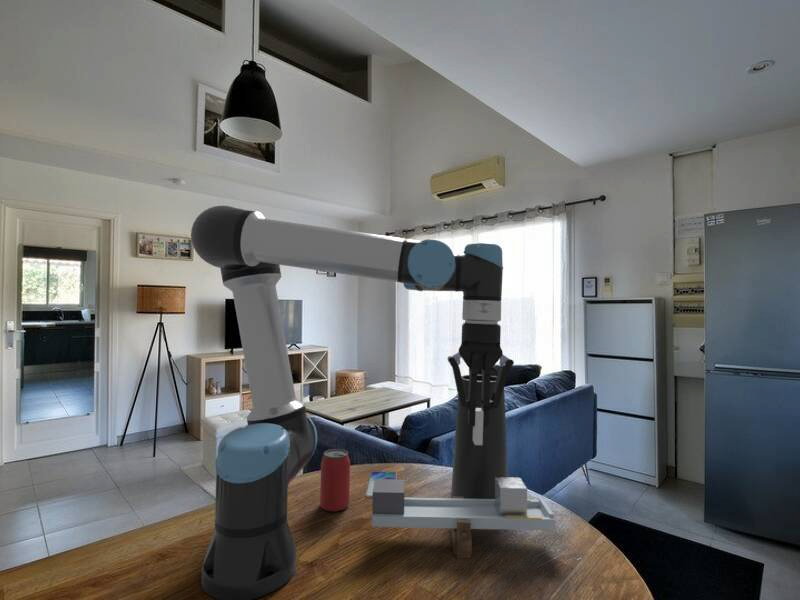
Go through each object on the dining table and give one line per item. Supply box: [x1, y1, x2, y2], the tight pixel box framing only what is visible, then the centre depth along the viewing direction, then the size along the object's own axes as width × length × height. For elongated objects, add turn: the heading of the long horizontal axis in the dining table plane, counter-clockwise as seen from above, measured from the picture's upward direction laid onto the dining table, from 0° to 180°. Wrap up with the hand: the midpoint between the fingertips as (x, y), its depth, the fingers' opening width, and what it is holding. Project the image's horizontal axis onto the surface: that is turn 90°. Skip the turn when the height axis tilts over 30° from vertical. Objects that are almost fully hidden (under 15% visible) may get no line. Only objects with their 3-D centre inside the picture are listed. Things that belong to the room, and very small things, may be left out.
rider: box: [495, 476, 528, 516], centre depth 80 cm, size 5×5×6 cm
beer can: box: [319, 448, 351, 513], centre depth 94 cm, size 7×7×12 cm
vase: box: [450, 374, 509, 499], centre depth 99 cm, size 14×14×29 cm
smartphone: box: [364, 471, 398, 499], centre depth 106 cm, size 7×1×15 cm
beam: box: [371, 479, 556, 531], centre depth 80 cm, size 34×8×6 cm, turn 89°
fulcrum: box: [449, 496, 473, 559], centre depth 80 cm, size 3×12×6 cm, turn 179°
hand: (477, 442), depth 81 cm, fingers closed
